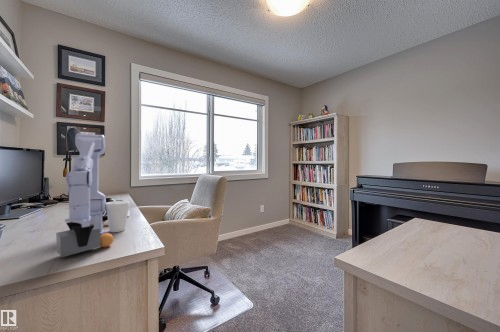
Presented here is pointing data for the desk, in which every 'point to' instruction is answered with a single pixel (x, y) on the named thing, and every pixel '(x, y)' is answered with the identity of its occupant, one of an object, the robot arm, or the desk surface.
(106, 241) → the ball
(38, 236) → the desk surface
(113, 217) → the foam cup
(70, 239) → the grey rectangular brick
